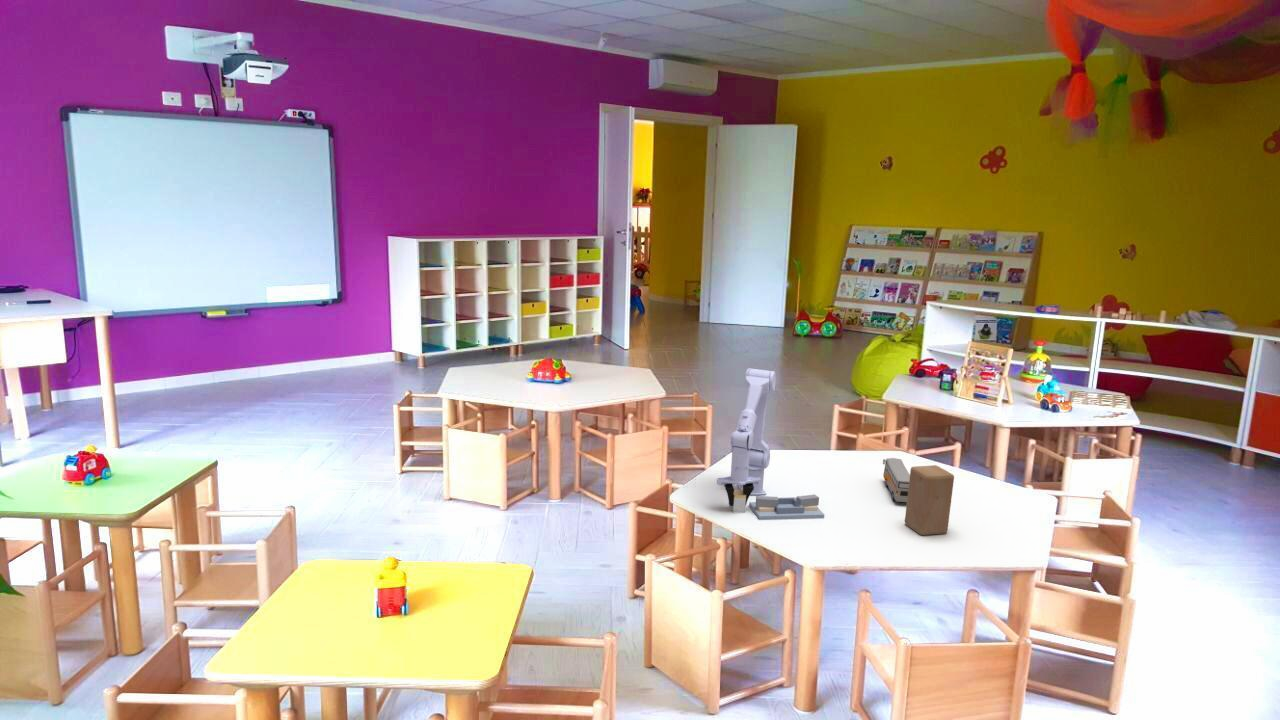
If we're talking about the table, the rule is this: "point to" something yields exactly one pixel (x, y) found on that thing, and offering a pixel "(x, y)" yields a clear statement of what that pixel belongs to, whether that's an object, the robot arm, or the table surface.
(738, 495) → the tan and white block
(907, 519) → the wooden block
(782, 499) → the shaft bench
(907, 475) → the toy bus
